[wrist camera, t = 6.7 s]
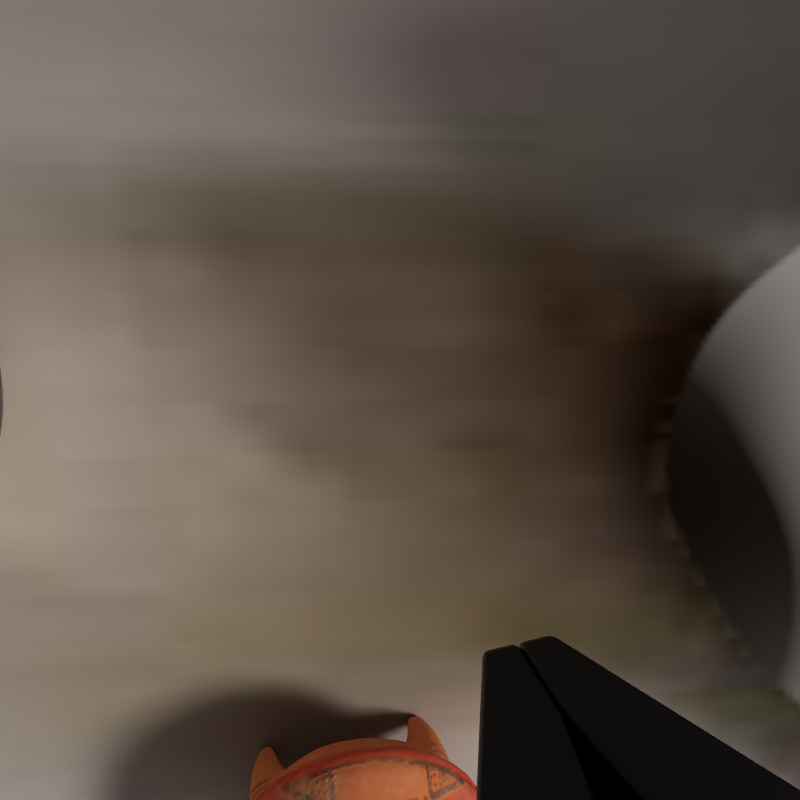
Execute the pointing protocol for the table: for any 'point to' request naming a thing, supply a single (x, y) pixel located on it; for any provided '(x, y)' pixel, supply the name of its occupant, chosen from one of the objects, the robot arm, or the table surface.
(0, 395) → the can
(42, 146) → the table surface
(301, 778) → the pot
